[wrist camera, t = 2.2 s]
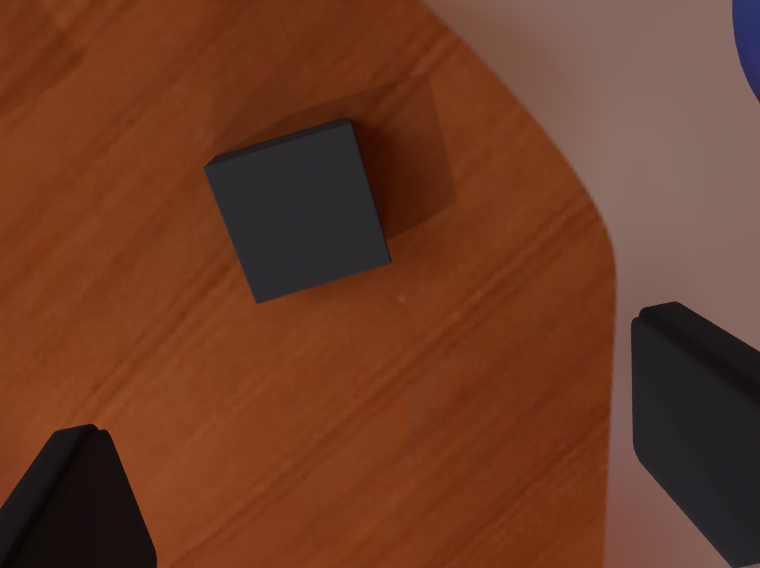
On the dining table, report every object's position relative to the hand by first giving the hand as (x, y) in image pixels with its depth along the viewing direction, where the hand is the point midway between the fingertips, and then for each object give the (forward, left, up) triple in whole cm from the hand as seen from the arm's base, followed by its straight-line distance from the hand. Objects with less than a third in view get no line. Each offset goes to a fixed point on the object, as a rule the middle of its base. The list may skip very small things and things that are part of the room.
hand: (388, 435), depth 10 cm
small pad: (+1, -1, -18) cm, 18 cm away
